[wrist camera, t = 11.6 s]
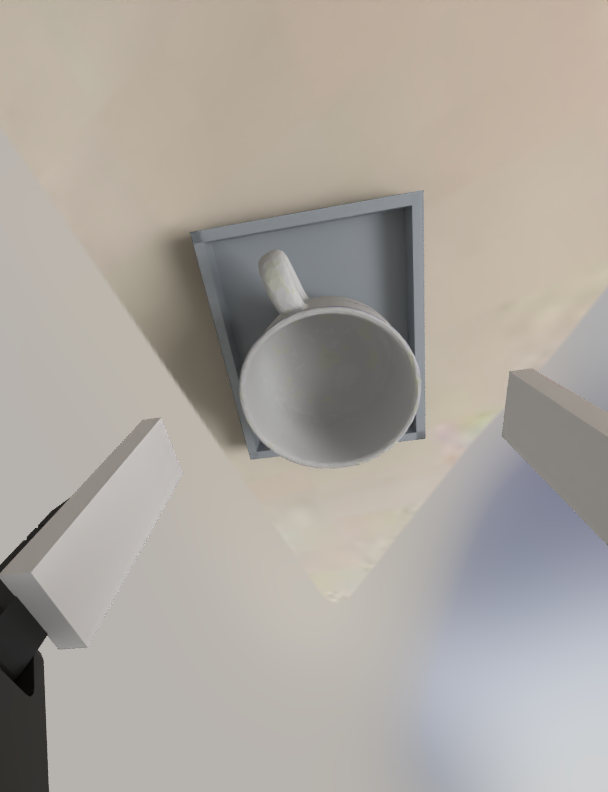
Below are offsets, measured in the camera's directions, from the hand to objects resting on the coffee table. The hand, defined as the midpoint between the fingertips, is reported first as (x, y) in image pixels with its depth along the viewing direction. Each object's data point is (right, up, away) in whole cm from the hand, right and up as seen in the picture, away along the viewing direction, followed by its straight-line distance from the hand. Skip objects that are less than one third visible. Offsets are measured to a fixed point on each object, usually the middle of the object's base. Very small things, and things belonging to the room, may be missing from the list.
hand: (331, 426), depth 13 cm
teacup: (0, +6, +14) cm, 15 cm away
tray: (0, +6, +14) cm, 15 cm away
